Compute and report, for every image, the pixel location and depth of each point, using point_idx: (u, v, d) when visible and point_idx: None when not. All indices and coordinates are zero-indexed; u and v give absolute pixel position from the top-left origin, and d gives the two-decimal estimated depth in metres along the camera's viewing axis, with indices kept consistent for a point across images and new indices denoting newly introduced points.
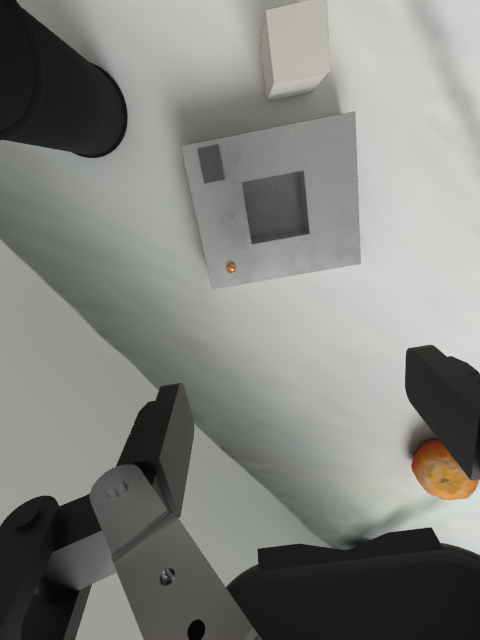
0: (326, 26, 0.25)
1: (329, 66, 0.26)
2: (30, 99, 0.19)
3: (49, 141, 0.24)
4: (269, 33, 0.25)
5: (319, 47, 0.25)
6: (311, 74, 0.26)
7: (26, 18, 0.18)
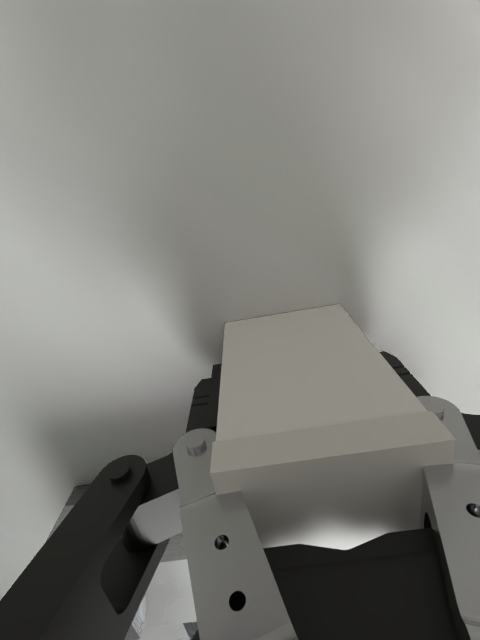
0: None
1: None
2: None
3: None
4: None
5: None
6: None
7: None
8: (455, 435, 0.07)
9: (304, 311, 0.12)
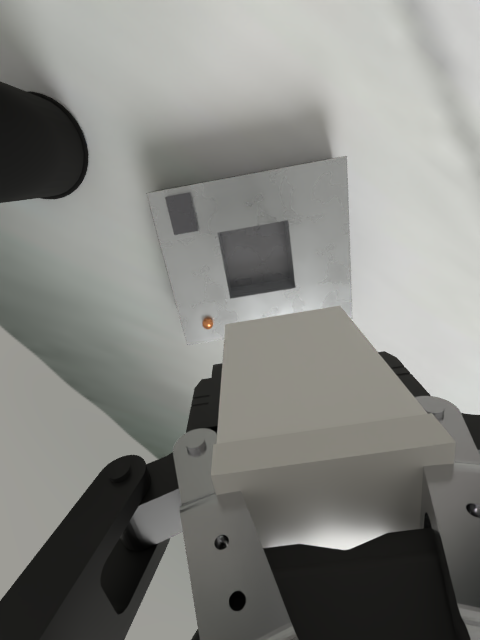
0: None
1: None
2: None
3: None
4: None
5: None
6: None
7: None
8: (455, 435, 0.07)
9: (304, 313, 0.12)
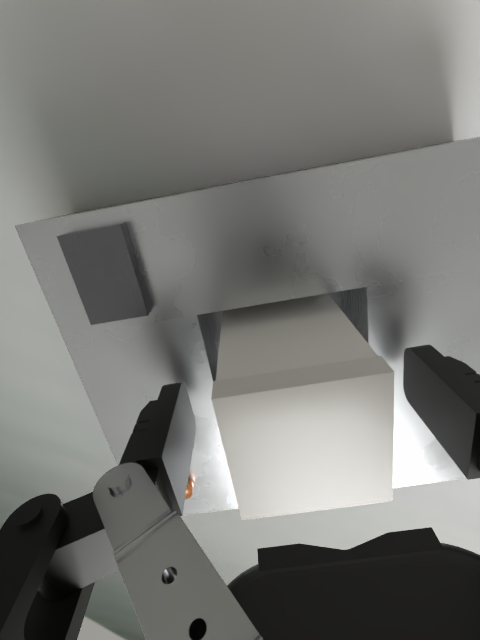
0: (387, 429, 0.09)
1: (389, 489, 0.10)
2: None
3: None
4: (224, 442, 0.09)
5: (364, 464, 0.09)
6: (340, 506, 0.10)
7: None
8: None
9: None
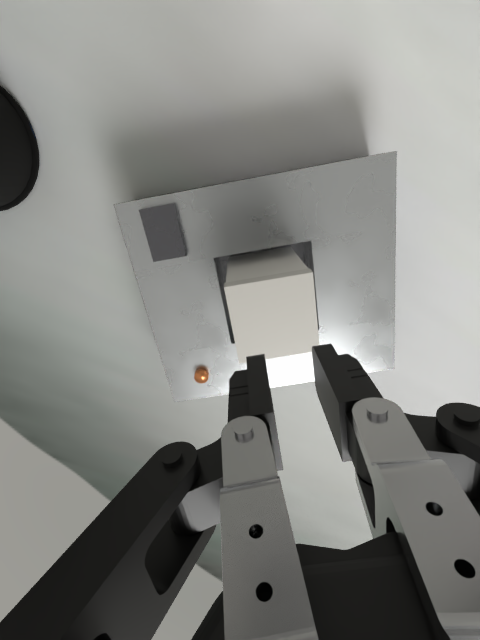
0: (312, 305, 0.17)
1: (317, 344, 0.18)
2: None
3: None
4: (230, 312, 0.17)
5: (303, 327, 0.18)
6: None
7: None
8: (394, 435, 0.08)
9: (271, 250, 0.23)
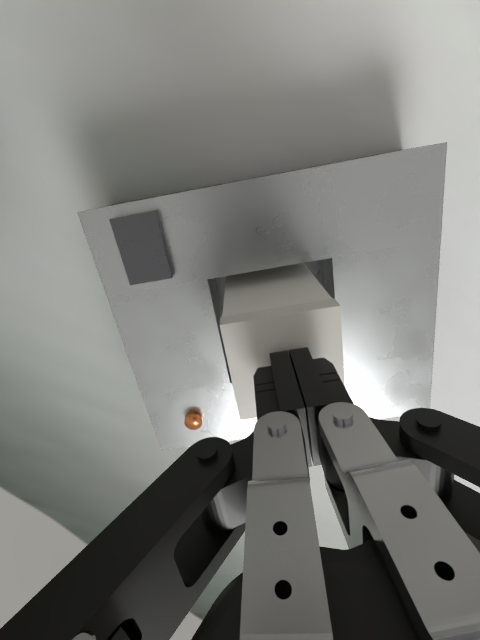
0: (338, 347, 0.13)
1: None
2: None
3: None
4: (228, 357, 0.13)
5: None
6: None
7: None
8: (356, 441, 0.08)
9: None
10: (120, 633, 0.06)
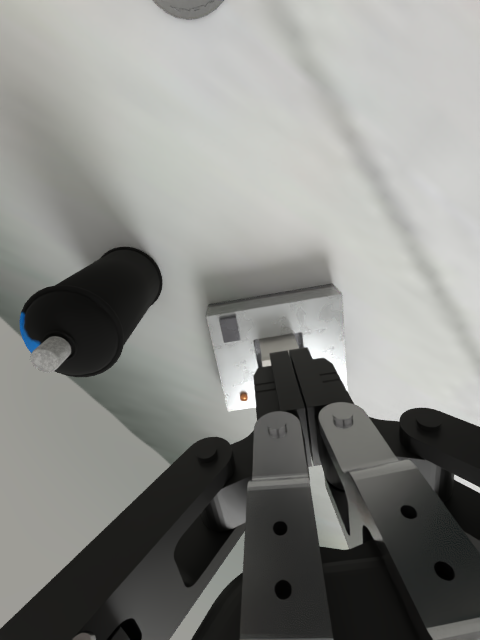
0: None
1: None
2: (112, 355, 0.28)
3: None
4: None
5: None
6: None
7: (114, 315, 0.26)
8: (356, 441, 0.08)
9: None
10: (120, 633, 0.06)
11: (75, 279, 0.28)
